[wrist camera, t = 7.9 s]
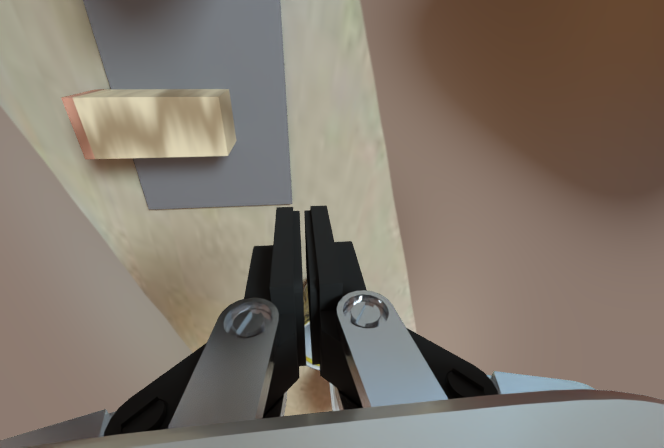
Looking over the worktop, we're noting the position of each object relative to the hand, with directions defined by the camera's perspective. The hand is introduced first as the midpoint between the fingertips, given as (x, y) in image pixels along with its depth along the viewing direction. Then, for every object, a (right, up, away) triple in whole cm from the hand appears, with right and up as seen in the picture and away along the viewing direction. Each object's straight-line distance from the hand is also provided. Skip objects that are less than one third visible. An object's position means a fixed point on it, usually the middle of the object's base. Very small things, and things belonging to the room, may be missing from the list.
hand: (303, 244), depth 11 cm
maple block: (-9, +10, +18) cm, 23 cm away
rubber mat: (-12, +12, +21) cm, 26 cm away
